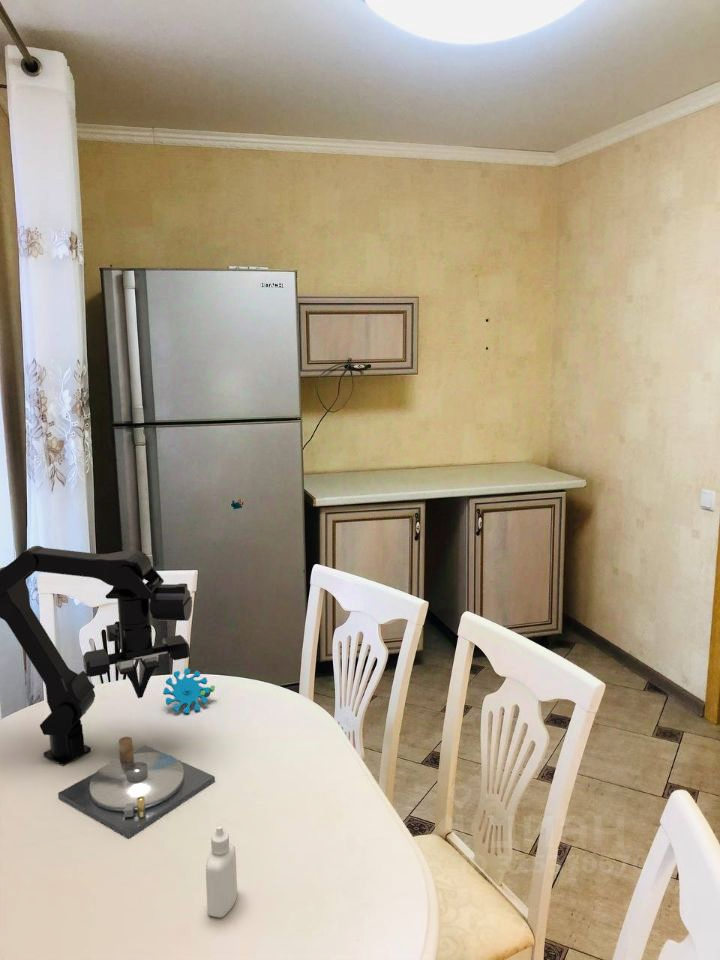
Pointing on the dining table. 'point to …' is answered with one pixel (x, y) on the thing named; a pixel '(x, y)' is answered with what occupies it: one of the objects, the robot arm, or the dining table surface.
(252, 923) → the dining table surface
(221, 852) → the eye dropper bottle
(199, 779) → the base
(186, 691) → the gear
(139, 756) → the metal crank wheel
